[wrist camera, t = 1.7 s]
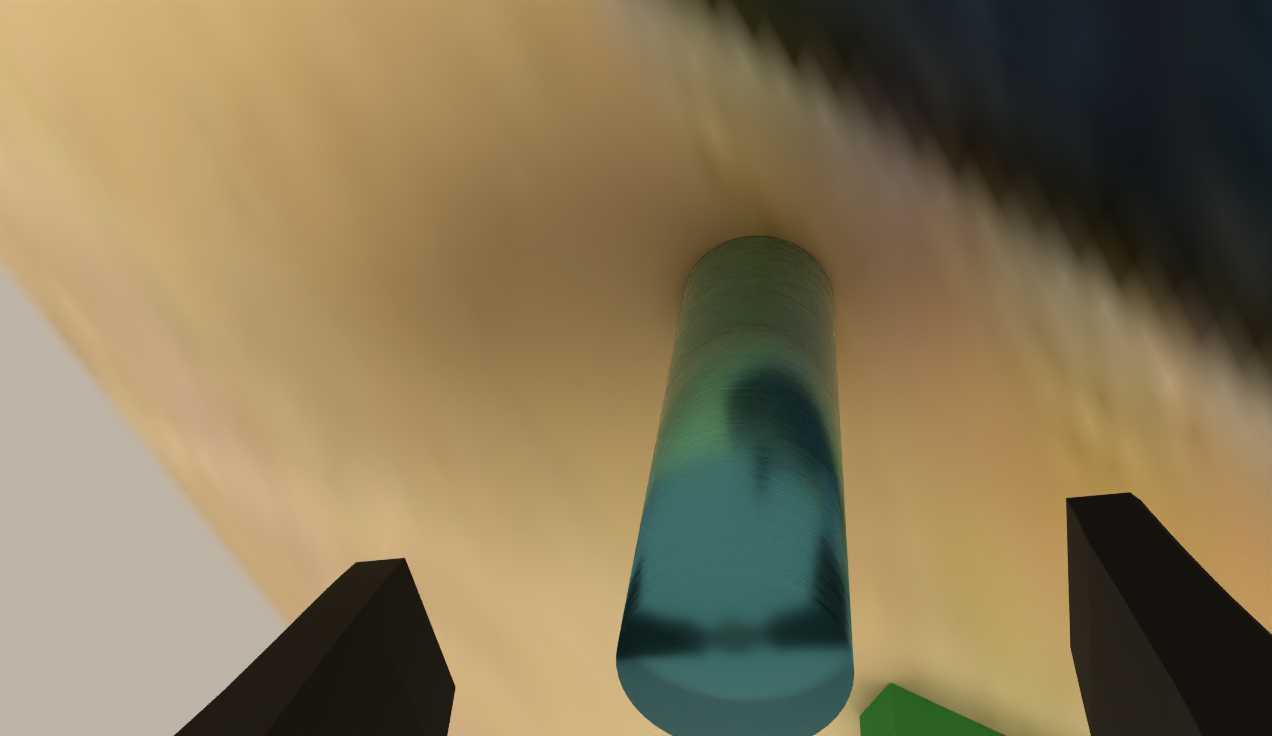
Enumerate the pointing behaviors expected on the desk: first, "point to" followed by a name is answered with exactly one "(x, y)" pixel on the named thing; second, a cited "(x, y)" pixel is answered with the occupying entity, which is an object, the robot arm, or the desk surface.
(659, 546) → the long pin
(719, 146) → the desk surface
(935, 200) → the desk surface
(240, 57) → the desk surface
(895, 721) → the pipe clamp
